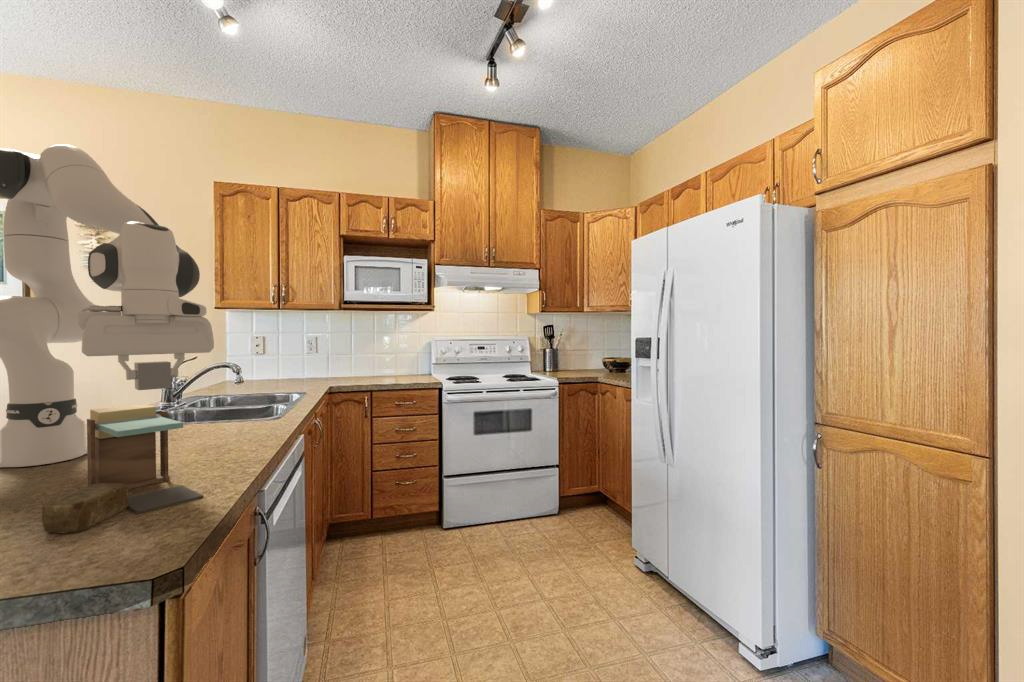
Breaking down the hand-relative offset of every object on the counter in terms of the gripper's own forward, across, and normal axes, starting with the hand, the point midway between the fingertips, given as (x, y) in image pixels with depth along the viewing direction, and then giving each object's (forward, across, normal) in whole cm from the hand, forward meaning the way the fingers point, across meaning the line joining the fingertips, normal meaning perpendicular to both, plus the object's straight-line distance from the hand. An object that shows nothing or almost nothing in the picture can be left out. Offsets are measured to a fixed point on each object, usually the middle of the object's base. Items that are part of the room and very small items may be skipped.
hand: (152, 378), depth 91 cm
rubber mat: (+22, 0, -7) cm, 23 cm away
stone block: (+22, -10, -10) cm, 27 cm away
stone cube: (+2, 0, 0) cm, 2 cm away
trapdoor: (+11, -3, +3) cm, 12 cm away
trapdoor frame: (+22, -4, +8) cm, 24 cm away
